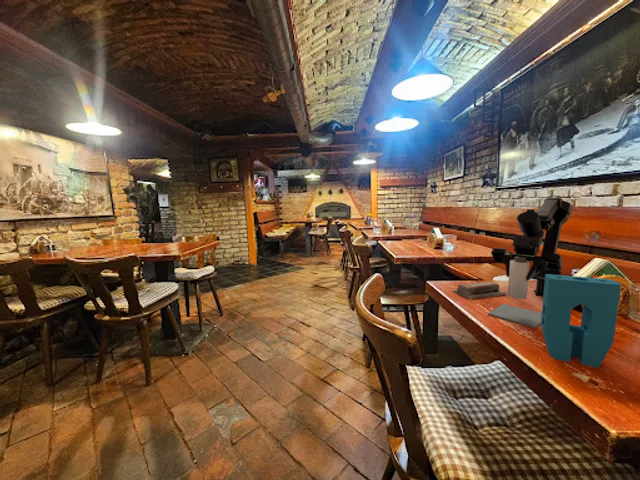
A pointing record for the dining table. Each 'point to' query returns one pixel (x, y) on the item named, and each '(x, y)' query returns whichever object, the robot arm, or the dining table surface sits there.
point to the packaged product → (479, 290)
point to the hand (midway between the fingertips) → (517, 278)
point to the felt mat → (517, 315)
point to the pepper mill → (518, 278)
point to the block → (595, 324)
